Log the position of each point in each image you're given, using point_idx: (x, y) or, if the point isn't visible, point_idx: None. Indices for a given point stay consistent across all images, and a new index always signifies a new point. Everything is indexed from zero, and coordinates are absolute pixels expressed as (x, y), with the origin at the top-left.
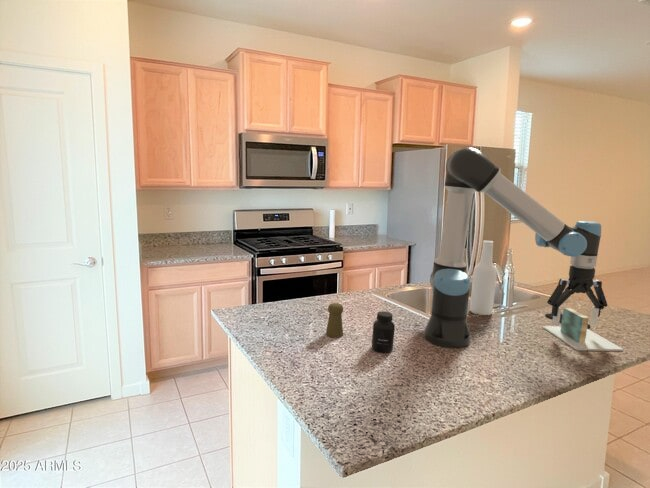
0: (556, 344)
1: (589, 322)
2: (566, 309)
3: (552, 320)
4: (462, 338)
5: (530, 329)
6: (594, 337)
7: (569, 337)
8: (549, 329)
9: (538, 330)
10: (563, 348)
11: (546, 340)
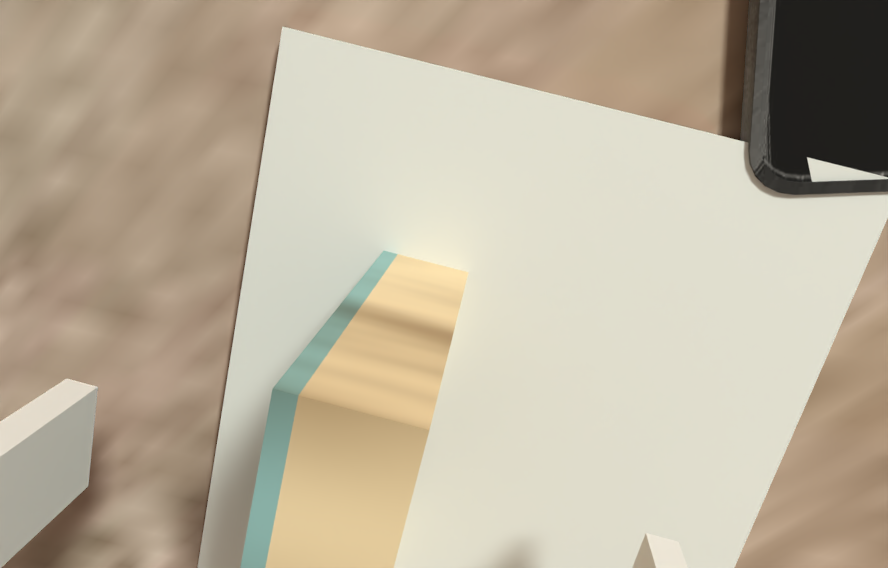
0: (96, 481)
1: (648, 552)
2: (259, 477)
3: (36, 398)
4: None
5: (76, 53)
6: (649, 499)
7: None
8: (283, 163)
9: (162, 108)
10: (101, 563)
11: (58, 381)
